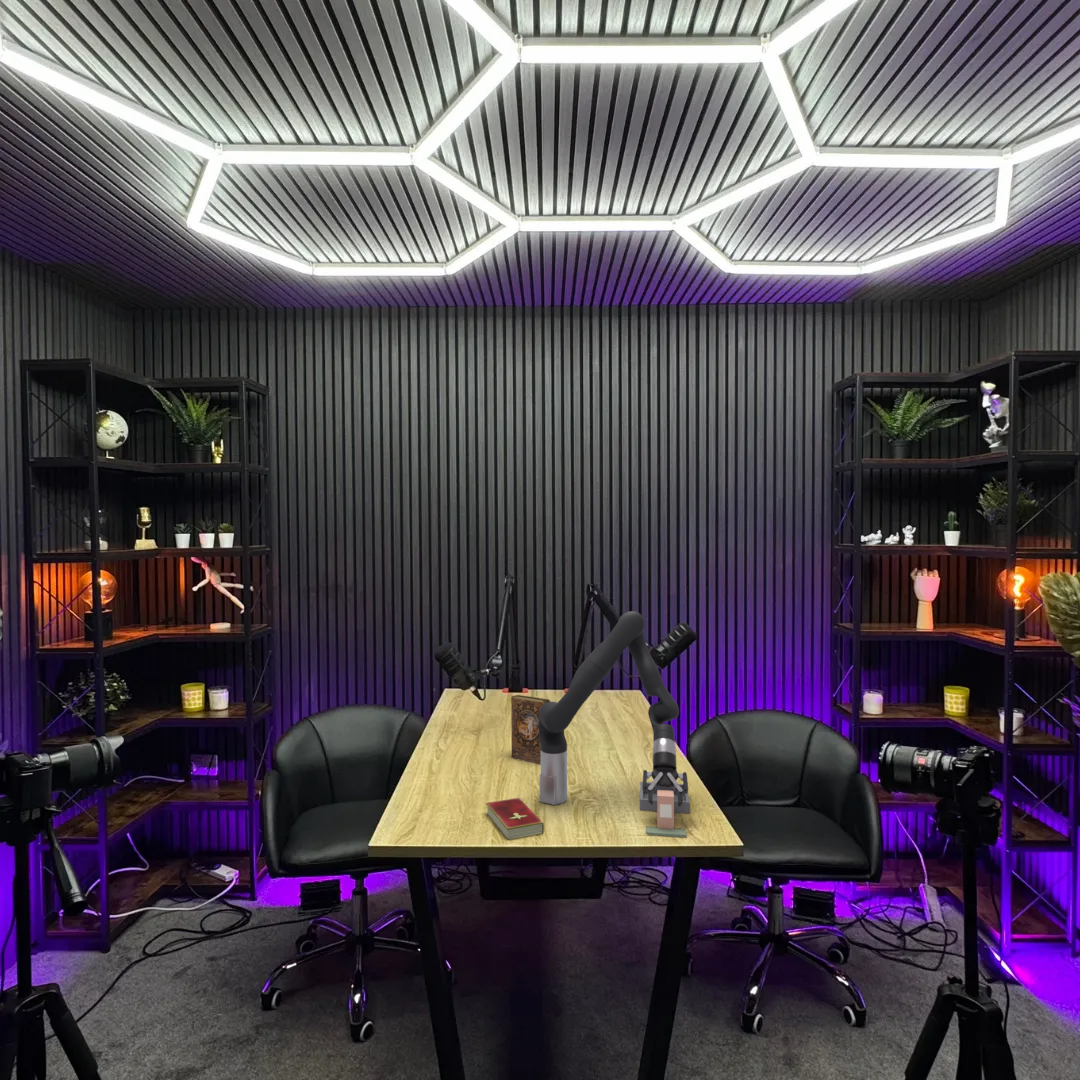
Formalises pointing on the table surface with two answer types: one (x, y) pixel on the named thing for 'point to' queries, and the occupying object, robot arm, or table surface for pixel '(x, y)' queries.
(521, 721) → the book
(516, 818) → the hardcover book
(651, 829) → the grey-green flat plate
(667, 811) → the labelled box
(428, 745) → the table surface
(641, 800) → the parts bin
